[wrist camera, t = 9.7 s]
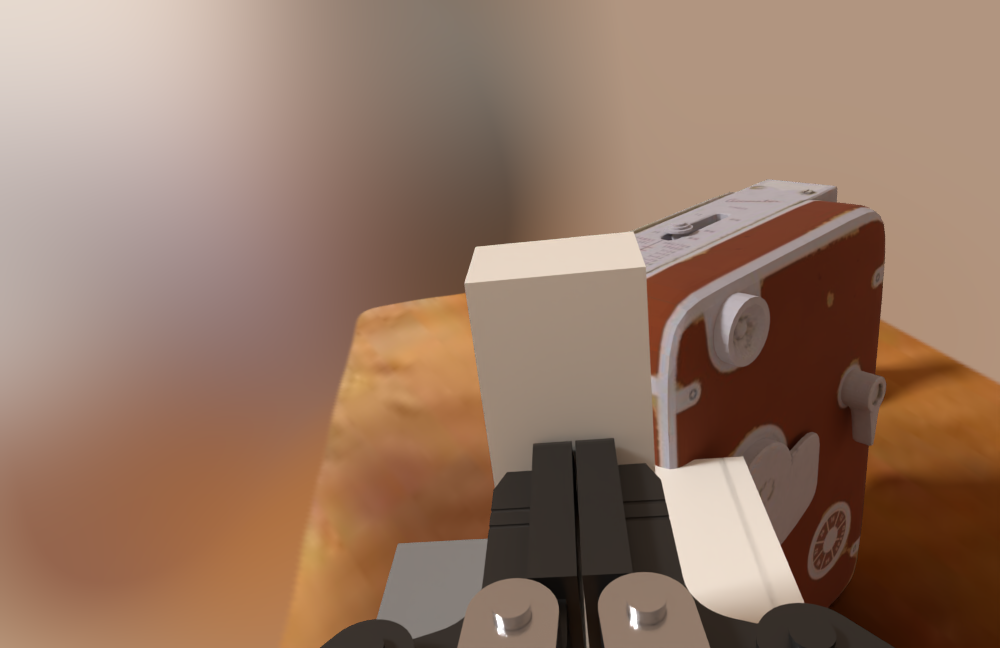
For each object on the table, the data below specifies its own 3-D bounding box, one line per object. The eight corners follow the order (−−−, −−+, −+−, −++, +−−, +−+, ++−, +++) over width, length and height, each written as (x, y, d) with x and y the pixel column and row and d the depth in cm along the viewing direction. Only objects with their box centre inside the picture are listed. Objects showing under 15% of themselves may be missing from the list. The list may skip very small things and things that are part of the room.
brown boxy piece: (932, 540, 39) (984, 160, 31) (707, 797, 28) (699, 313, 20) (773, 474, 45) (782, 147, 38) (542, 659, 35) (489, 257, 27)
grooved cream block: (566, 742, 30) (495, 170, 21) (740, 738, 29) (746, 143, 20) (572, 1027, 21) (458, 283, 12) (815, 1031, 21) (884, 245, 12)
